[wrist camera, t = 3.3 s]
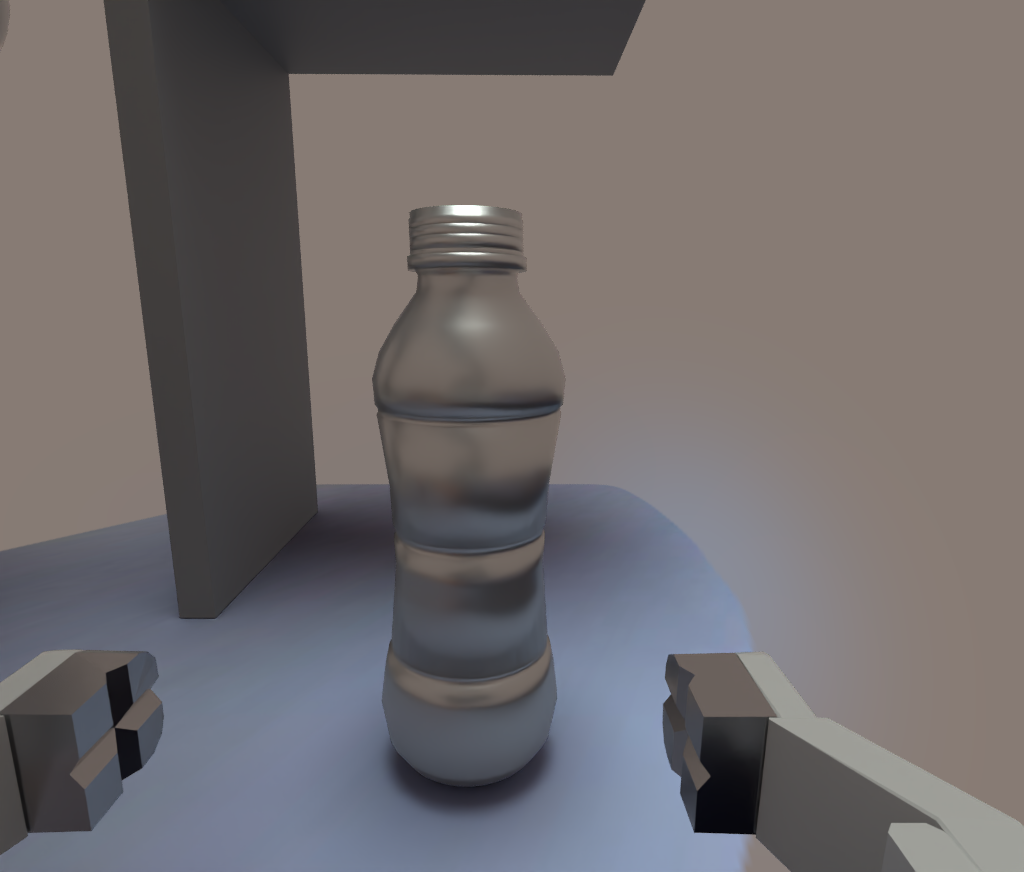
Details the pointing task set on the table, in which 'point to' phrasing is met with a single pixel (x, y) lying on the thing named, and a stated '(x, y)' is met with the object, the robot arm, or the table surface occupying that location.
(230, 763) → the table surface
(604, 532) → the table surface
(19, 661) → the table surface
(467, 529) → the plastic bottle
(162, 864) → the table surface
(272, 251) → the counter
